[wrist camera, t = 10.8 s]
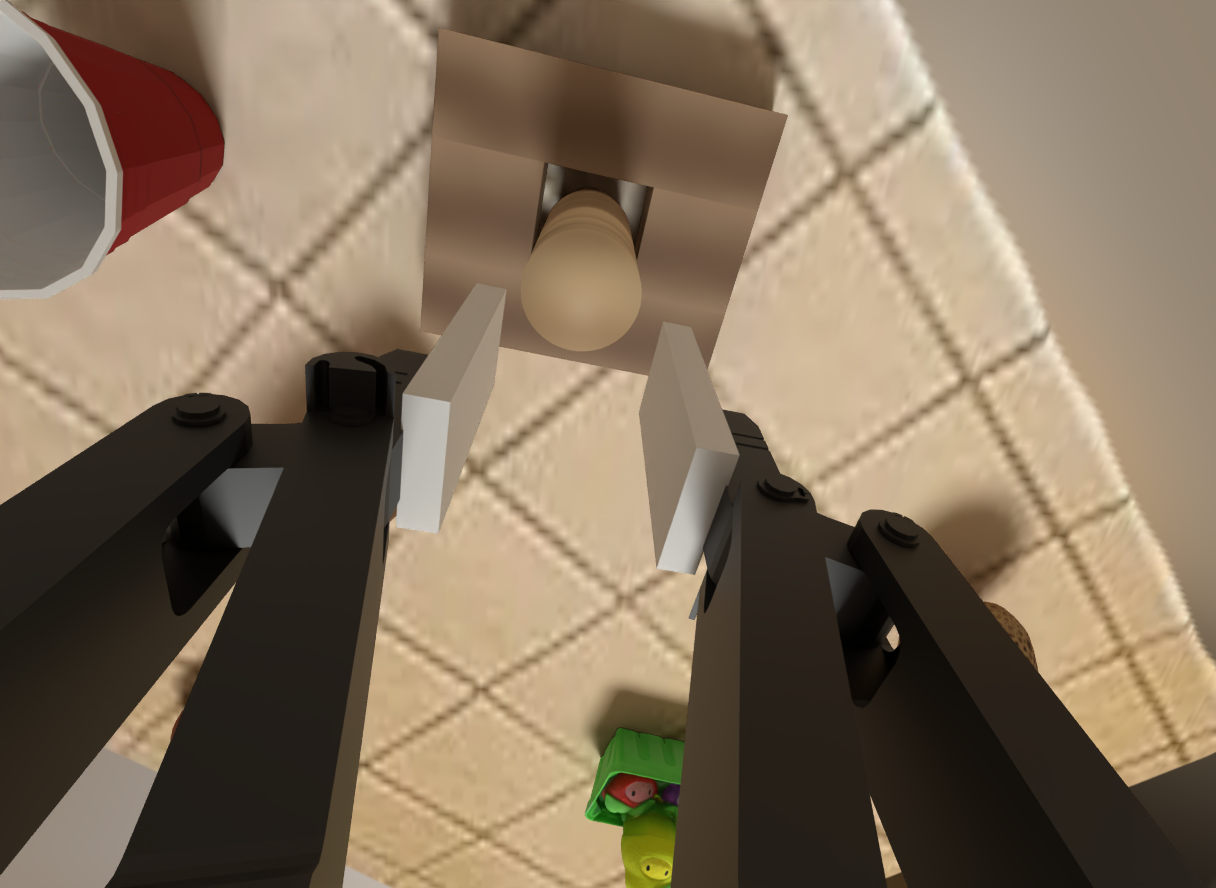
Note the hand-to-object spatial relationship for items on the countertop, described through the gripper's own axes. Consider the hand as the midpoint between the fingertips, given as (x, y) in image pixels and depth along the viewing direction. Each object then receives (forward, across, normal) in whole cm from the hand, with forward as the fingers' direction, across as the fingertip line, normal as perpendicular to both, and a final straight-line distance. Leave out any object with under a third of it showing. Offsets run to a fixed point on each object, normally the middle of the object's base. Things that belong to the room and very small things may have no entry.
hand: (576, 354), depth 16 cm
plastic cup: (+20, -22, 0) cm, 30 cm away
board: (+20, 0, 0) cm, 20 cm away
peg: (+20, 0, 0) cm, 20 cm away
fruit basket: (+20, +15, -46) cm, 52 cm away
